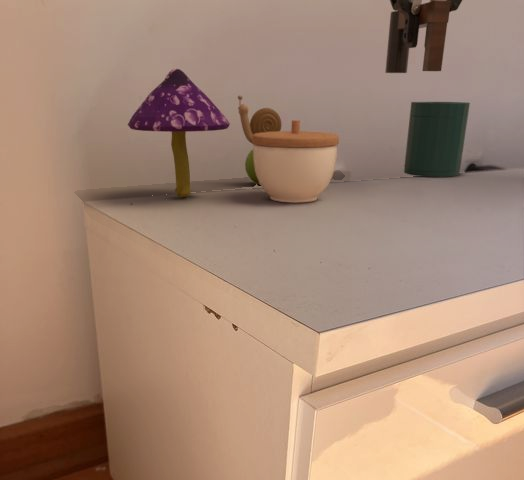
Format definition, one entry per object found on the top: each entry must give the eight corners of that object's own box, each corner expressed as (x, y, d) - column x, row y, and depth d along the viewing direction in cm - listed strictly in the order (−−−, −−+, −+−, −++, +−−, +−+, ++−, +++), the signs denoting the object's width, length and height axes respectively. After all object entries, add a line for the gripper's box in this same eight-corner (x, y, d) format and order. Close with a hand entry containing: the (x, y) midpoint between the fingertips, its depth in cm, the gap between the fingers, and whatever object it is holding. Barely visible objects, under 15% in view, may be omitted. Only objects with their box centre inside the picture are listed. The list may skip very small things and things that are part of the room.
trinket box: (289, 209, 67) (292, 124, 63) (235, 197, 74) (234, 119, 70) (352, 199, 73) (358, 121, 69) (296, 188, 80) (298, 117, 76)
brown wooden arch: (445, 71, 76) (454, 1, 72) (423, 70, 75) (431, 0, 72) (401, 73, 88) (407, 13, 85) (382, 72, 88) (387, 12, 84)
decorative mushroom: (182, 186, 82) (176, 70, 75) (250, 196, 75) (250, 69, 68) (113, 198, 73) (99, 68, 66) (183, 211, 66) (175, 66, 59)
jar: (443, 169, 101) (452, 101, 96) (469, 176, 93) (480, 103, 88) (395, 170, 99) (402, 101, 95) (418, 177, 91) (427, 103, 87)
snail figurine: (235, 182, 86) (234, 95, 80) (276, 181, 87) (277, 95, 82) (242, 188, 81) (242, 95, 76) (286, 186, 82) (288, 95, 77)
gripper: (398, -123, 67) (384, 45, 74) (505, -114, 69) (481, 47, 76) (374, -104, 73) (363, 48, 81) (472, -96, 76) (453, 50, 83)
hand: (420, 47), depth 78 cm, fingers closed on brown wooden arch, 2 cm apart
